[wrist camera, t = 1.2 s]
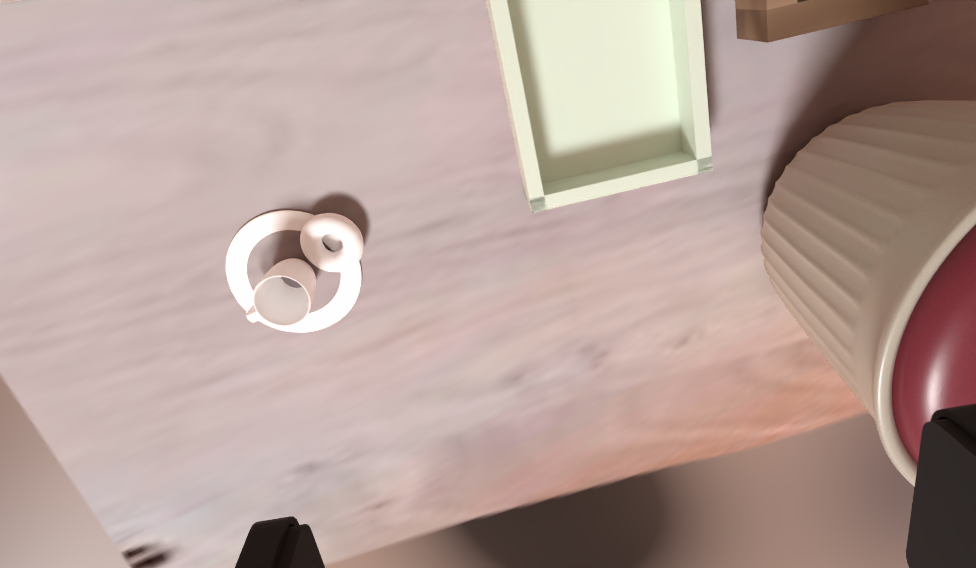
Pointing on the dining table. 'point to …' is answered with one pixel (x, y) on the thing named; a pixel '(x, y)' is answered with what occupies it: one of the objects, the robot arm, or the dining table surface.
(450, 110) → the dining table surface
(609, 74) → the tray
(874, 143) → the canister
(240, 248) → the teacup and saucer
